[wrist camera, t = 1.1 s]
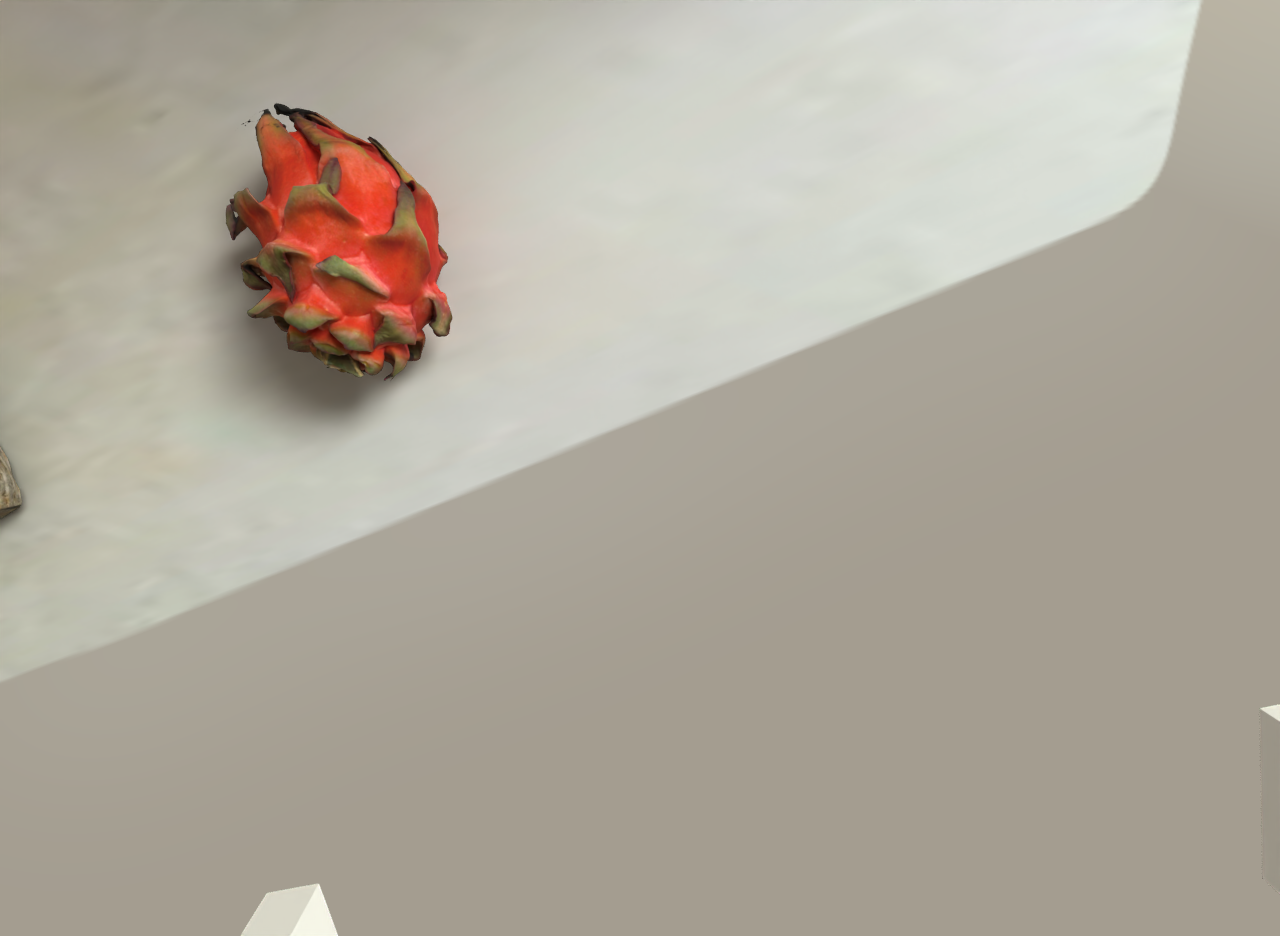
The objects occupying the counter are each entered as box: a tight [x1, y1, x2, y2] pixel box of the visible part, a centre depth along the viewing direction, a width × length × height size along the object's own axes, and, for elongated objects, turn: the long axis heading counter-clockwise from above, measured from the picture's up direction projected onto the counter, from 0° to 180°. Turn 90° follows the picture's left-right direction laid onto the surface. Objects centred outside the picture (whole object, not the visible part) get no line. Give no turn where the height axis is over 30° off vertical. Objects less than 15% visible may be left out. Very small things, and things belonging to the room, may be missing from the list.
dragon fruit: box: [226, 104, 452, 380], centre depth 31 cm, size 8×8×12 cm
